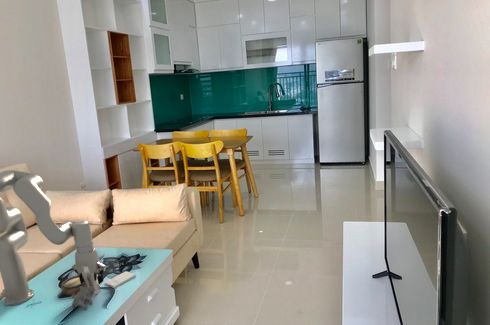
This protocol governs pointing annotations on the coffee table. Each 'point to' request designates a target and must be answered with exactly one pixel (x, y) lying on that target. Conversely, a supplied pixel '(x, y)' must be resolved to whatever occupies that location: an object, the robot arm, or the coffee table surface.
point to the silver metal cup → (90, 280)
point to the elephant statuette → (83, 297)
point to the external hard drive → (120, 279)
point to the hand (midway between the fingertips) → (92, 282)
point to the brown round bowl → (71, 286)
